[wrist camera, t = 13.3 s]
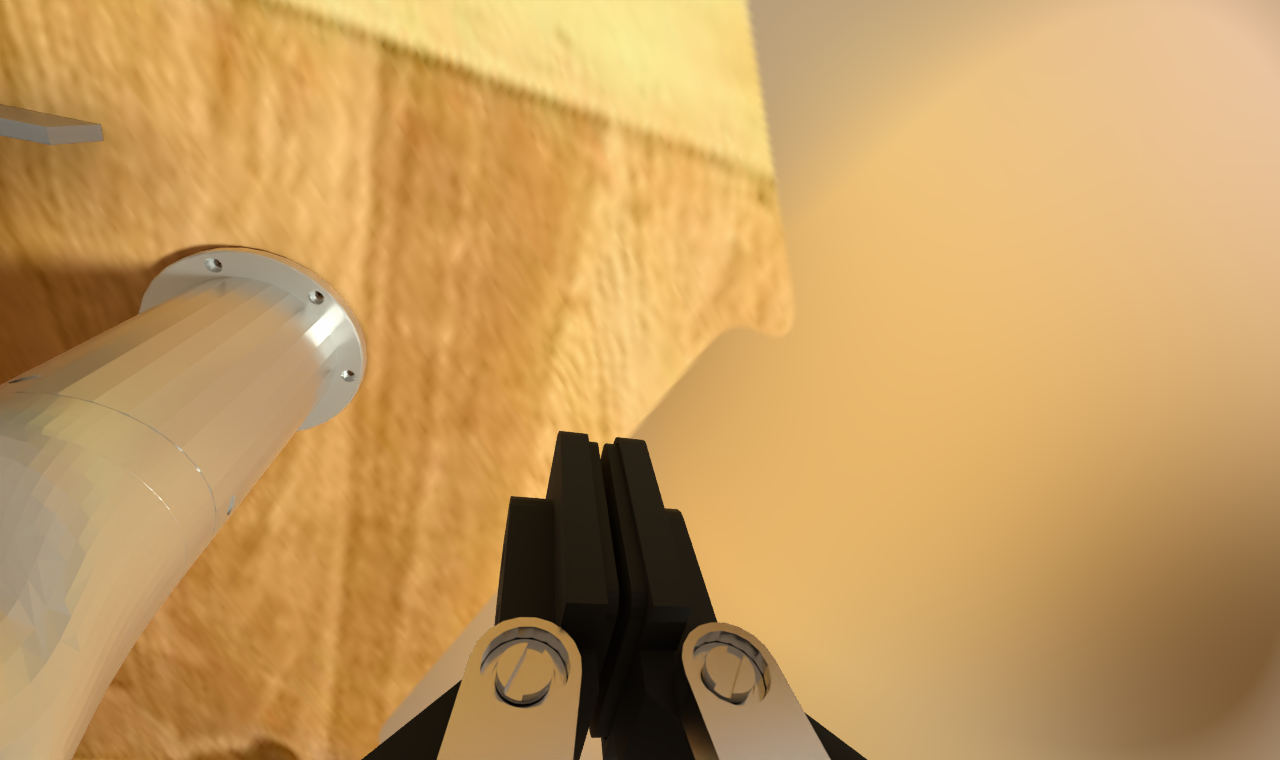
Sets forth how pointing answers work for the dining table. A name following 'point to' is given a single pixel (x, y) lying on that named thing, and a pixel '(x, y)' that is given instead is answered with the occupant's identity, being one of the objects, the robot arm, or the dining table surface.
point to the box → (46, 127)
